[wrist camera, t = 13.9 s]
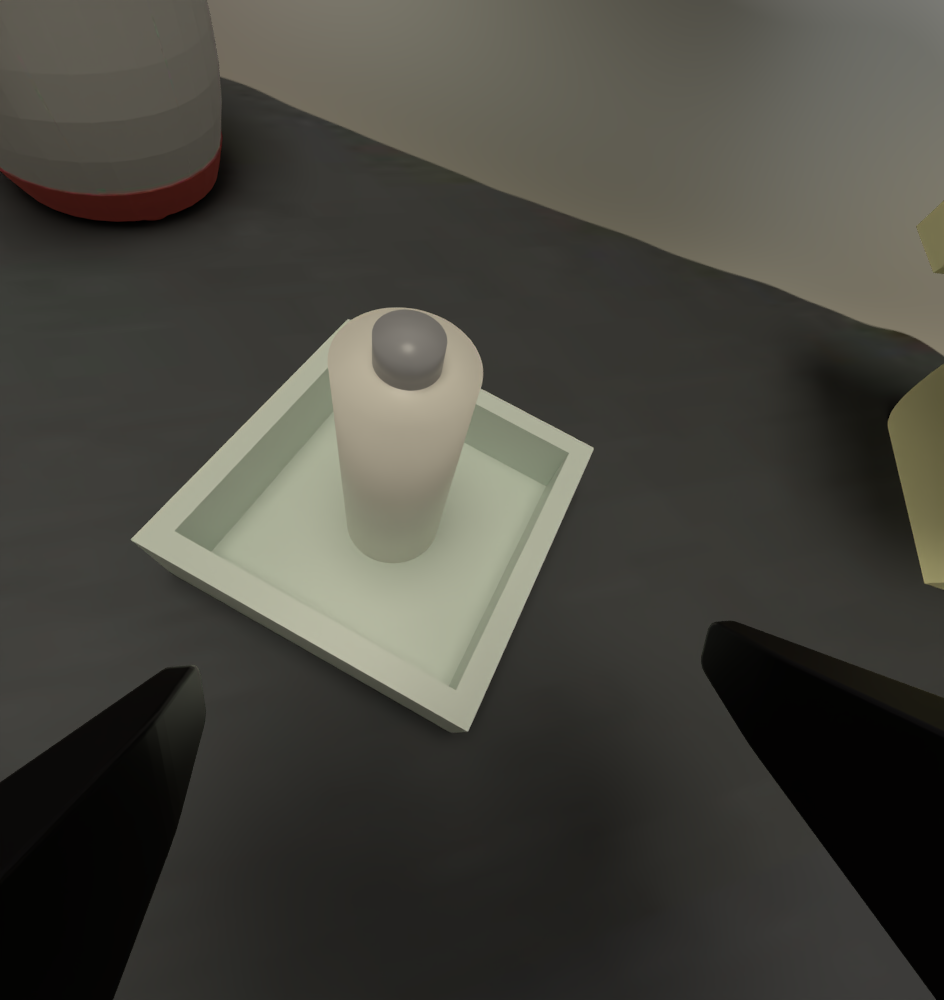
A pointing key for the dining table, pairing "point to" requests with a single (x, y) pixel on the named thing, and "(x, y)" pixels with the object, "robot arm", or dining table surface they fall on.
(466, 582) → the walled box
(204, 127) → the citrus juicer
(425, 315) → the grey-capped cream cylinder
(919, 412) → the slatted curved stool
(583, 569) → the dining table surface
